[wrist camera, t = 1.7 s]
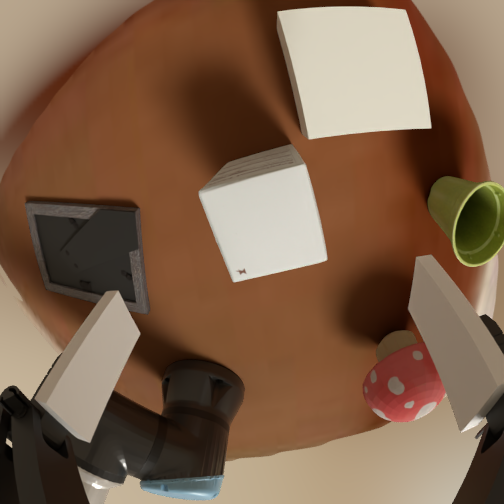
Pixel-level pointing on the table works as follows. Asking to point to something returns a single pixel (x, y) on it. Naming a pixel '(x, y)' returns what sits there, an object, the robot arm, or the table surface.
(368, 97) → the plinth
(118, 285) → the picture frame
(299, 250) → the supplement box
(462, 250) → the plant pot
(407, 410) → the decorative mushroom
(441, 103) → the table surface
